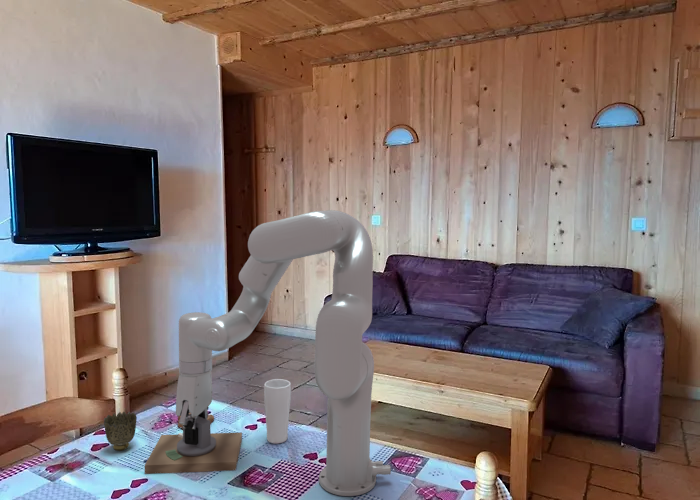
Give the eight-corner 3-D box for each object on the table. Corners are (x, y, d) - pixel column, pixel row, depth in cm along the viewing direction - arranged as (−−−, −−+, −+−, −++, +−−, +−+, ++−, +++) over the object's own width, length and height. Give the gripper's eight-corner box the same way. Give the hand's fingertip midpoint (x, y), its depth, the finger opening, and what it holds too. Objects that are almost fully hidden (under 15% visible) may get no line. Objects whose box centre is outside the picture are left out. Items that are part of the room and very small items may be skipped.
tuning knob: (223, 445, 124) (223, 417, 123) (193, 460, 116) (193, 430, 116) (194, 432, 130) (194, 406, 129) (163, 446, 122) (163, 418, 122)
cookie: (199, 412, 148) (199, 402, 148) (220, 423, 141) (221, 413, 141) (167, 423, 141) (167, 413, 140) (189, 435, 134) (189, 424, 134)
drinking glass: (277, 448, 127) (277, 390, 126) (258, 440, 131) (258, 383, 130) (295, 438, 132) (296, 382, 131) (277, 431, 137) (277, 377, 135)
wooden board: (241, 439, 131) (242, 431, 131) (235, 470, 116) (235, 461, 116) (161, 442, 129) (161, 434, 129) (144, 473, 114) (144, 464, 114)
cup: (137, 453, 123) (136, 421, 123) (103, 458, 121) (102, 425, 120) (137, 439, 130) (137, 409, 130) (105, 444, 128) (104, 413, 127)
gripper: (197, 354, 130) (197, 423, 131) (162, 375, 113) (163, 454, 115) (225, 356, 128) (225, 426, 130) (193, 378, 112) (194, 458, 114)
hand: (196, 438), depth 122 cm, fingers closed on tuning knob, 3 cm apart
